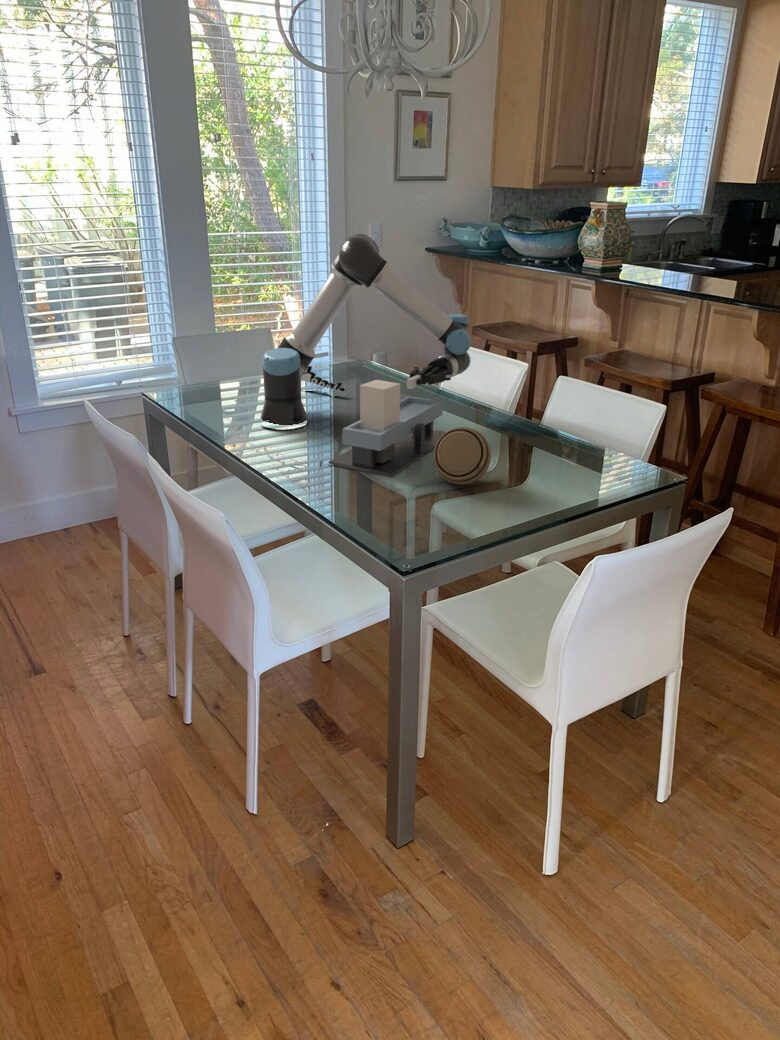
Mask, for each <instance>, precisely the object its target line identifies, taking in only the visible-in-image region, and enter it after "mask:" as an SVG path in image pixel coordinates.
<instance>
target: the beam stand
mask: <svg viewBox="0 0 780 1040" xmlns="http://www.w3.org/2000/svg"><path fill="white" fill-rule="evenodd" d="M446 432H447V431H445V430H438V429H434V420H433V421H431V422H430V423H428V424H426V425H425V424H423V423H418V424H416V425H415V431H414V432H412V433H411V434H409V435H407V436H406V437H404V438H402V439H400V440H399V441H397V442H395V455H394V457H392V458H391V459H389V460H387V461H386V462H384V463H379V462H375V450H372V449H367V448H361V447H356V446H351V447H352V448H351V449H349V450H347V451H345V452H343V453H341V454H340V455H338V456H335V457H334V458H333V459H331V460H328V464H329V463H330V464H333V465H336V466H335V467H337V466H338V468H342V467H343V468H342V469H347V470H348V469H349V470H353V471H357V472H363V473H369V474H374V475H379V476H384V477H388V478H393V477H395V476H396V475H397V474H400V473H401V472H403V470H405V469H406V468H408V467H410V466H411V465H413V464H414V463H416V462H417V461H419V460H421V459H422V458H423V457H425V456H428V454H430V453H431V452H434V448H435V445H436V443H437V441H438V440H439V438H440V437H441V436H442V435H443V434H444V433H446Z"/></svg>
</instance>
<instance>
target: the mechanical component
mask: <svg viewBox="0 0 780 1040" xmlns="http://www.w3.org/2000/svg"><path fill="white" fill-rule="evenodd" d="M445 432H446V433H444V434H443V435H442V436H441V437H440V438H439V440H438V441H437V443H436V445H435V448H434V450H433V456H432V458H433V464H434V467H435V469H436V471H437V472H438V474H439V475H440V476H441V477H442V478H443V479H444V480H446V481H447V482H449V483H451V484H453V485H459V486H466V485H470V484H473V483H476V482H477V481H479V480H480V479H481V478H483V476H485V475H486V473H487V471H488V470H489V467H490V465H491V462H492V461H491V460H492V451H491V447H490V444H489V442H488V440H487V439H486V437H485V436H484V435H483V434H482V433H481V432H479V431H478V430H476V429H475V428H474V429H473V428H470V427H466V426H460V427H454V428H450V429H449V430H447V431H445Z"/></svg>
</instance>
